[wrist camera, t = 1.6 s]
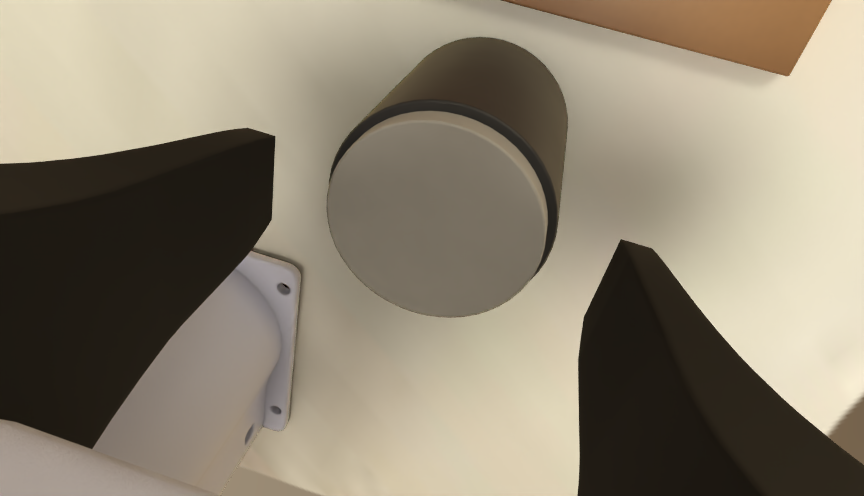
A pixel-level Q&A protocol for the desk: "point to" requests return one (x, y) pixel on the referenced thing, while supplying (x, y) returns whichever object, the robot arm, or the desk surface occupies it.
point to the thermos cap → (453, 181)
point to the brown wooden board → (706, 25)
